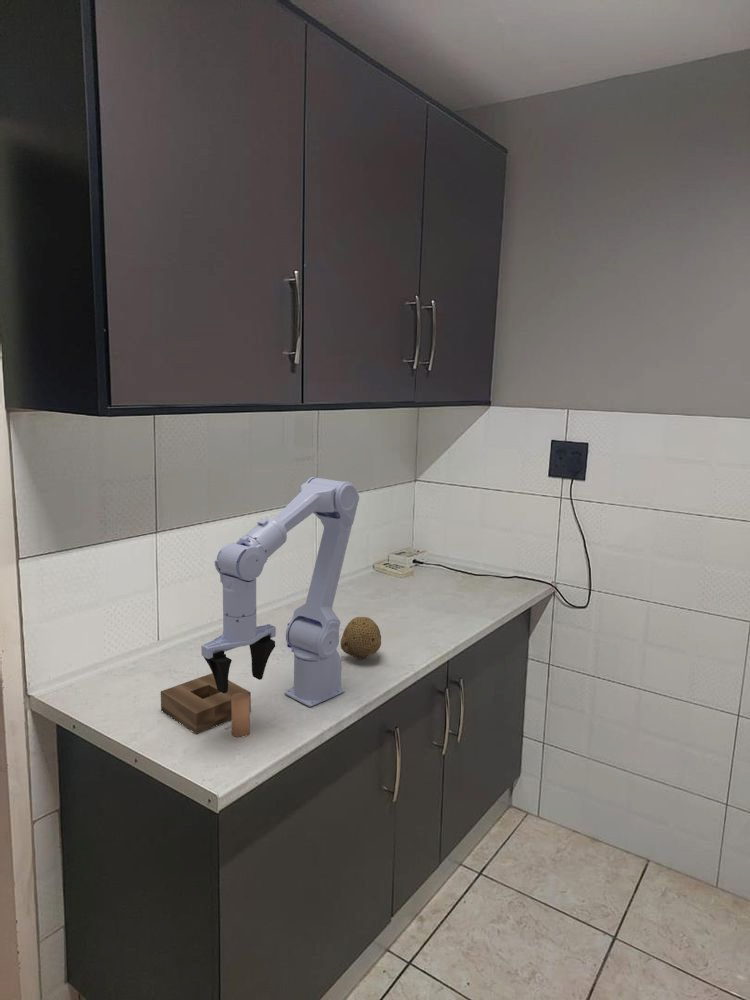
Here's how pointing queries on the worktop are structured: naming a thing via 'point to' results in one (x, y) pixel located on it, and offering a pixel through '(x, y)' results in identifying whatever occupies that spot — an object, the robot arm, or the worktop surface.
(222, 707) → the walnut socket block
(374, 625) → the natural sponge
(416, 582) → the worktop surface
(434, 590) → the worktop surface
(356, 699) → the worktop surface
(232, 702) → the terracotta peg
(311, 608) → the robot arm
